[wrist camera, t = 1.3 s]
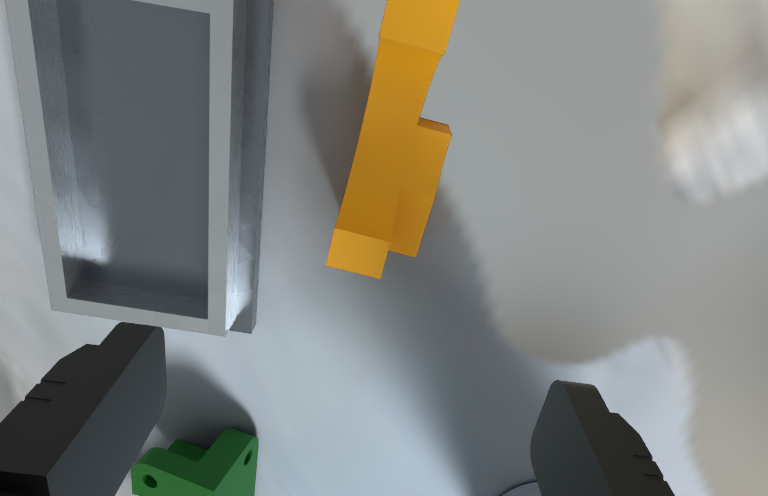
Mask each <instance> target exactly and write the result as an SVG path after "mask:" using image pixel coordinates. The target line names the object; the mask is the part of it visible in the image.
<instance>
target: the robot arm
mask: <svg viewBox="0 0 768 496" xmlns="http://www.w3.org/2000/svg"><path fill="white" fill-rule="evenodd" d="M165 397H166V362H165V339H164V331H163V329H162V328H161V327H157V326H150V325H142V324H135V323H127V322H121V323H119V324H117V325H116V326H115V328H114V329H113V330H112V331H111V332H110V333H109V334H108V336H107V337H106V338H105V339H104V340H103V341H102V343H101V344H100V345H91V344H86V345H84V346H82V347H81V348H79V349H77V350H76V351H74V352H72V353H70V354H69V355H67V356H65V357H63V358H62V359H60V360H59V361H58V362H57V363H56V364H55V365H54V366H53V367H52V368H51V370H50V371H49V372H48V373H47V374H46V375H45V376H44V377H43V378H42V379H41V383H40V384H36V386H35V387H34V388H33V389H32V390H31V391H30V392H29V393H28V394H27V395H26V396H25V400H24V401H21V402H20V403H19V404H18V405H17V406H16V407H15V408H14V409H13V410H12V411H11V412H10V413H9V414H8V415H7V416H6V418H5V419H4V420H3V421H2V422H1V423H0V496H115V494H116V493H117V491H118V489H119V487H120V486H121V484H122V482H123V480H124V478H125V477H126V475H127V473H128V471H129V470H130V468H131V466H132V464H133V463H134V461H135V459H136V457H137V455H138V454H139V452H140V450H141V448H142V447H143V445H144V443H145V441H146V440H147V438H148V436H149V434H150V432H151V431H152V429H153V427H154V425H155V424H156V422H157V420H158V418H159V416H160V414H161V411H162V408H163V405H164V401H165ZM531 461H532V466H533V469H534V473H535V476H536V479H537V482H533V483H528V484H525V485H522V486H519V487H516V488H514V489H512V490H510V491H508V492H506V493H505V494H503V495H502V496H675V495H674V493H673V492H672V490H671V488H670V486H669V485H668V483H667V481H664V480H663V477H664V476H663V474H662V473H661V471H660V469H659V467H658V466H657V464H656V462H654V461H652V455H651V454H650V452H649V450H648V448H647V447H646V445H645V443H644V441H643V440H642V438H641V436H640V435H639V433H638V432H637V431H636V430H634V429H633V428H632V427H631V426H630V425H629V424H628V423H627V422H626V421H625V420H624V419H623V418H622V417H621V416H620V415H619V414H618V413H610V412H609V410H608V408H607V406H606V404H605V402H604V401H603V399H602V397H601V395H600V393H599V391H598V390H597V388H596V387H595V386H593V385H591V384H583V383H575V382H568V381H560V380H556V381H554V382H553V383H552V385H551V386H550V389H549V391H548V394H547V397H546V399H545V402H544V405H543V407H542V410H541V413H540V415H539V418H538V421H537V423H536V426H535V429H534V431H533V435H532V439H531Z"/></svg>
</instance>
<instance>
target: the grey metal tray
mask: <svg viewBox="0 0 768 496" xmlns="http://www.w3.org/2000/svg"><path fill="white" fill-rule="evenodd" d="M5 2H6V9H7V15H8V22H9V29H10V35H11V42H12V49H13V56H14V62H15V69H16V76H17V83H18V89H19V96H20V103H21V110H22V116H23V123H24V130H25V136H26V143H27V150H28V157H29V163H30V170H31V177H32V184H33V190H34V197H35V204H36V210H37V217H38V224H39V231H40V237H41V244H42V251H43V258H44V264H45V271H46V278H47V284H48V291H49V298H50V305H51V310H54V311H60V312H67V313H73V314H80V315H86V316H93V317H99V318H106V319H112V320H119V321H126V322H132V323H139V324H145V325H152V326H158V327H165V328H171V329H178V330H184V331H191V332H198V333H204V334H211V335H217V336H224V337H225V336H226V334H227V332H228V331H229V330H231V331H237V332H244V333H250V334H251V333H252V331H253V329H254V327H255V325H256V309H257V291H258V273H259V255H260V237H261V218H262V200H263V182H264V164H265V146H266V127H267V109H268V91H269V73H270V55H271V37H272V18H273V0H5Z"/></svg>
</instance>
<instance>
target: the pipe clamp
mask: <svg viewBox="0 0 768 496" xmlns="http://www.w3.org/2000/svg"><path fill="white" fill-rule="evenodd" d="M459 2H460V0H387V3H386V7H385V12H384V16H383V20H382V25H381V29H380V33H379V46H378V52H377V58H376V63H375V68H374V73H373V78H372V83H371V87H370V92H369V97H368V101H367V106H366V110H365V114H364V119H363V123H362V127H361V131H360V135H359V140H358V144H357V148H356V152H355V156H354V160H353V164H352V168H351V172H350V176H349V179H348V183H347V187H346V191H345V194H344V198H343V202H342V205H341V209H340V212H339V215H338V219H337V222H336V225H335V228H334V232H333V237H332V241H331V245H330V250H329V254H328V258H327V263H326V266H330V267H334V268H338V269H342V270H346V271H350V272H354V273H358V274H362V275H366V276H370V277H374V278H378V279H380V278H381V274H382V271H383V267H384V264H385V260H386V257H387V253H388V251H391V252H395V253H399V254H403V255H407V256H411V257H415V258H416V255H417V252H418V249H419V246H420V242H421V239H422V236H423V233H424V230H425V227H426V223H427V220H428V217H429V214H430V211H431V208H432V204H433V201H434V198H435V194H436V190H437V186H438V182H439V178H440V174H441V170H442V166H443V162H444V159H445V155H446V152H447V149H448V145H449V142H450V139H451V136H452V134H451V131H450V129H449V125H447V124H443V123H439V122H435V121H432V120H428V119H424V118H421V117H420V114H421V110H422V107H423V104H424V101H425V98H426V94H427V92H428V89H429V86H430V83H431V80H432V77H433V75H434V72H435V69H436V67H437V64H438V62H439V60H440V58H441V57H442V56H443V55H444V54H445V51H446V47H447V44H448V41H449V37H450V33H451V30H452V27H453V23H454V19H455V16H456V12H457V9H458V6H459Z"/></svg>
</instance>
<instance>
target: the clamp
mask: <svg viewBox="0 0 768 496" xmlns="http://www.w3.org/2000/svg"><path fill="white" fill-rule="evenodd" d="M257 455H258V438H257V437H255V436H252V435H250V434H247V433H244V432H242V431H239V430H236V429H234V428H231V427H228V428H226V429H225V430H224V431H223V432H222V433H221V435H220V436H219V437H218V438H217V440H216V441H215V442H214V443H213V444H212V446H211V447H210V448H209V449H208V451H207V450H205V449H202V448H200V447H197V446H195V445H192V444H189V443H187V442H184V441H181V440H176V441H175V442H174V443H173V444H172V445H171V446H170V447H169V449H168V450H165V449H162V448H152V449H150V450H149V451H148V452H147V453H146V454H145V455H144V456H143V457H142V458H141V459H140V460H139V461H138V462H137V463H136V464H135V465H134V466H133V467H132V470H131V478H132V493H133V494H135V495H139V496H254V491H255V479H256V467H257Z"/></svg>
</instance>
